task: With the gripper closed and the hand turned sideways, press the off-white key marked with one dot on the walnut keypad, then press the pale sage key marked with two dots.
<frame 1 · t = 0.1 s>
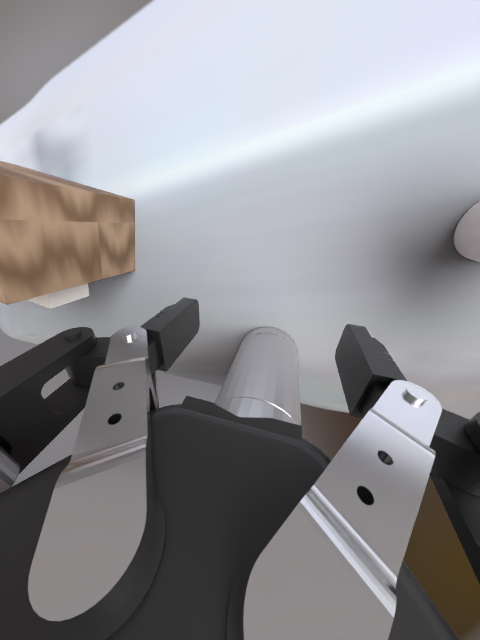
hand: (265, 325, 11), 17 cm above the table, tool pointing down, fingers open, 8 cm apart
key one: (51, 276, 24), point 9 cm above the table, slide at 0.0 cm
keypad housing: (77, 219, 30), on the table
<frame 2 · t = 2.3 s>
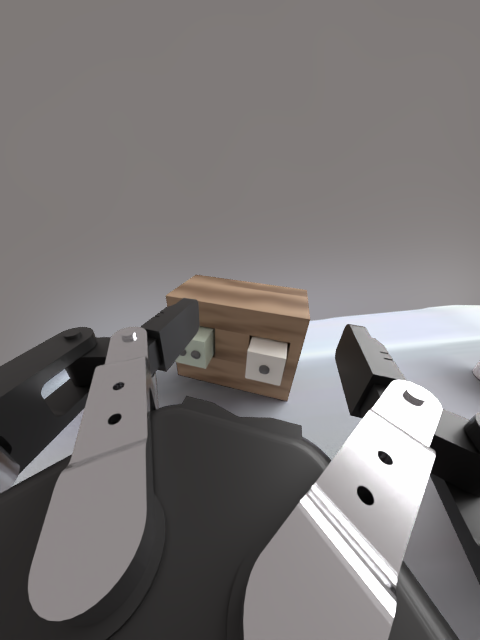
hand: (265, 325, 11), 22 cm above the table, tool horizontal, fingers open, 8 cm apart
key one: (266, 356, 28), point 9 cm above the table, slide at 0.0 cm
keypad housing: (237, 367, 39), on the table
key two: (196, 342, 30), point 9 cm above the table, slide at 0.0 cm
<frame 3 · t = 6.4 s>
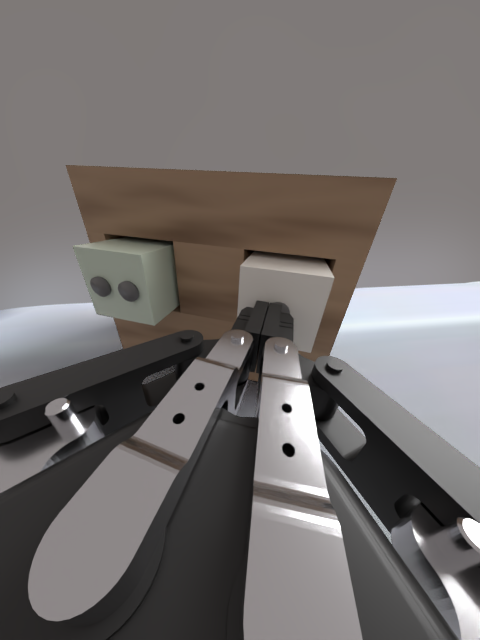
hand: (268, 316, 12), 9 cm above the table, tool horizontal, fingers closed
key one: (280, 296, 14), point 9 cm above the table, slide at 0.4 cm, touching gripper
keypad housing: (225, 341, 24), on the table
key two: (141, 277, 16), point 9 cm above the table, slide at 0.0 cm
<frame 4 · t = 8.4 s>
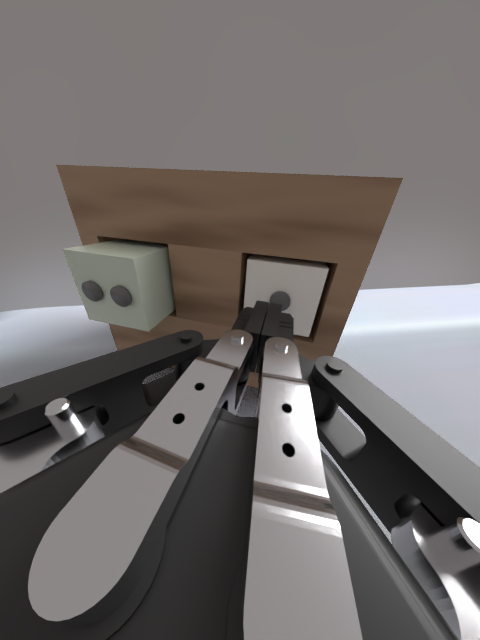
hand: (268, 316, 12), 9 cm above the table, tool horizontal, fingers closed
key one: (282, 287, 16), point 9 cm above the table, slide at 3.1 cm
keypad housing: (223, 345, 23), on the table
key two: (135, 280, 15), point 9 cm above the table, slide at 0.0 cm
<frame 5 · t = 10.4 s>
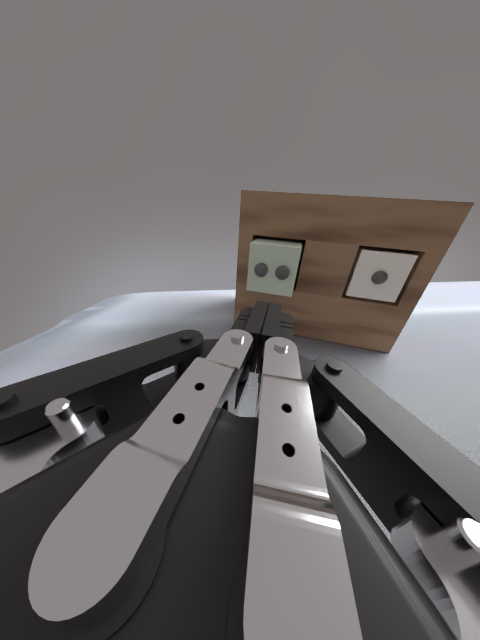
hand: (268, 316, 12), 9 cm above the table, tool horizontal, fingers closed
key one: (371, 270, 23), point 9 cm above the table, slide at 3.1 cm
keypad housing: (304, 319, 30), on the table
key two: (274, 265, 22), point 9 cm above the table, slide at 0.0 cm
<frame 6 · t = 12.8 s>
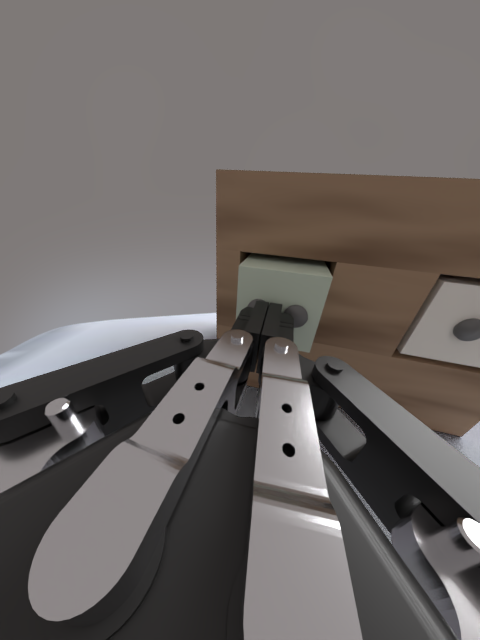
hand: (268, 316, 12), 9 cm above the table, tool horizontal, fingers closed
key one: (440, 309, 14), point 9 cm above the table, slide at 3.1 cm
keypad housing: (320, 365, 21), on the table
key two: (279, 296, 14), point 9 cm above the table, slide at 1.1 cm, touching gripper
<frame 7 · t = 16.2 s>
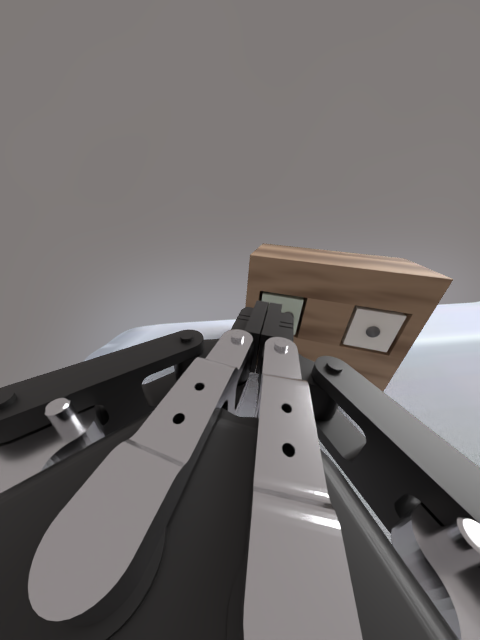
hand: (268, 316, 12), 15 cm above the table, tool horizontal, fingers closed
key one: (366, 321, 25), point 9 cm above the table, slide at 3.1 cm
keypad housing: (305, 354, 33), on the table
key two: (280, 306, 27), point 9 cm above the table, slide at 3.1 cm
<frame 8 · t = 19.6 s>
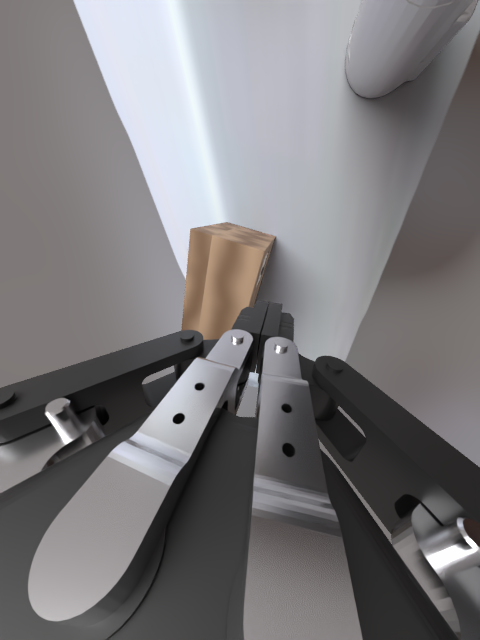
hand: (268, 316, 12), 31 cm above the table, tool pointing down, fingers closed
key one: (247, 266, 33), point 9 cm above the table, slide at 3.1 cm
keypad housing: (239, 276, 44), on the table
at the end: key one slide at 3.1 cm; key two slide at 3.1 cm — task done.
